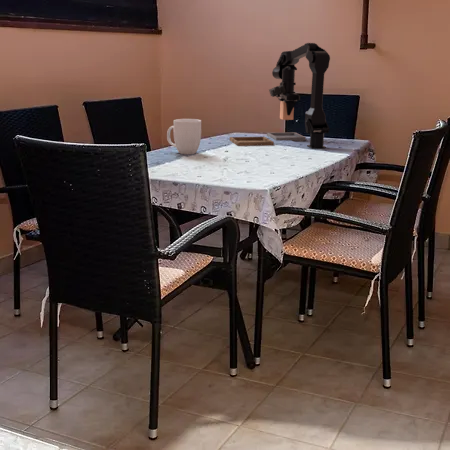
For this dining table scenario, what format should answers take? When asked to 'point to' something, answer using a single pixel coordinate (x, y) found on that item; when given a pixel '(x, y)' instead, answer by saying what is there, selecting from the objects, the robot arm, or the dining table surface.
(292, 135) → the tray
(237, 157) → the dining table surface
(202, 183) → the dining table surface
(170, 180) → the dining table surface
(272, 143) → the dish
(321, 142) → the robot arm
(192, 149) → the mug
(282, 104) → the block
